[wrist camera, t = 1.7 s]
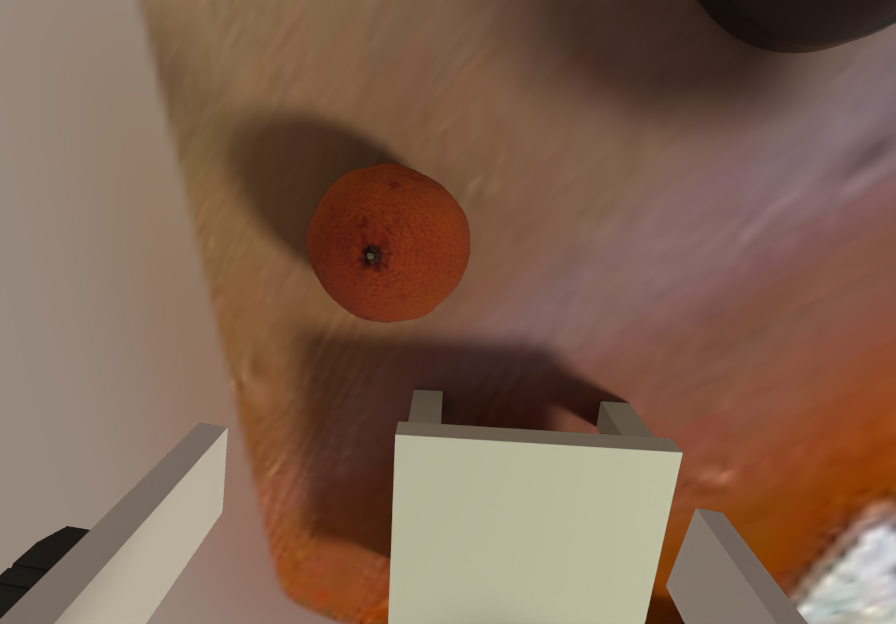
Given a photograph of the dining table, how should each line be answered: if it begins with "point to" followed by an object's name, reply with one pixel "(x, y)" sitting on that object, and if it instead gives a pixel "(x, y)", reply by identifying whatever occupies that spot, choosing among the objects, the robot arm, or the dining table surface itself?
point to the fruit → (388, 243)
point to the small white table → (527, 520)
